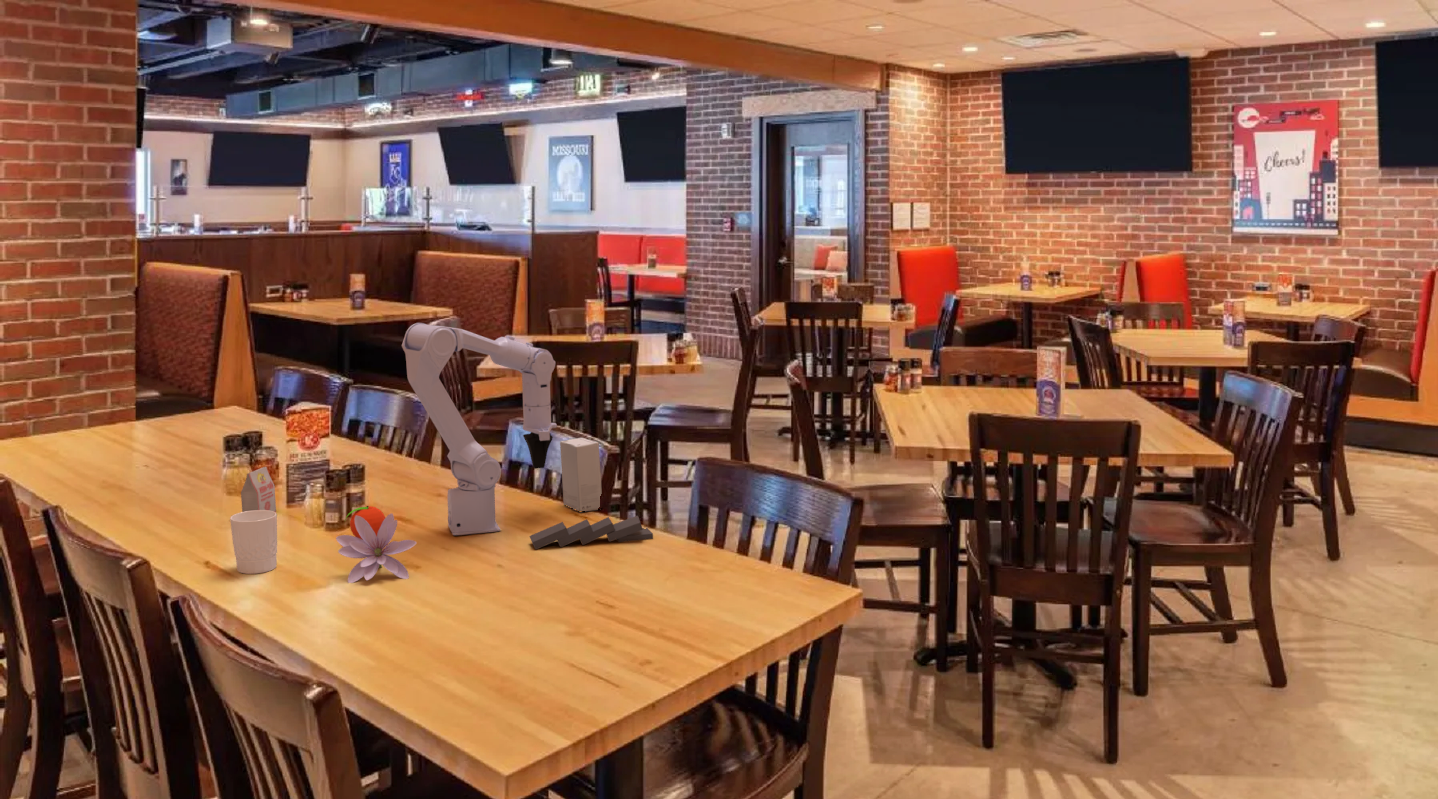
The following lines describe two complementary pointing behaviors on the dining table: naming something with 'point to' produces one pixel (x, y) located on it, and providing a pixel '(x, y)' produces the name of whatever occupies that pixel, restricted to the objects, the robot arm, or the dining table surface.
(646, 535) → the tile
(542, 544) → the tile
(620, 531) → the tile
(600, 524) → the tile
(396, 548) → the water lily
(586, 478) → the skincare box
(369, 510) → the tomato
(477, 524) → the robot arm
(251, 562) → the white cup
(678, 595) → the dining table surface
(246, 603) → the dining table surface
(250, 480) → the milk carton
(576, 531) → the tile
